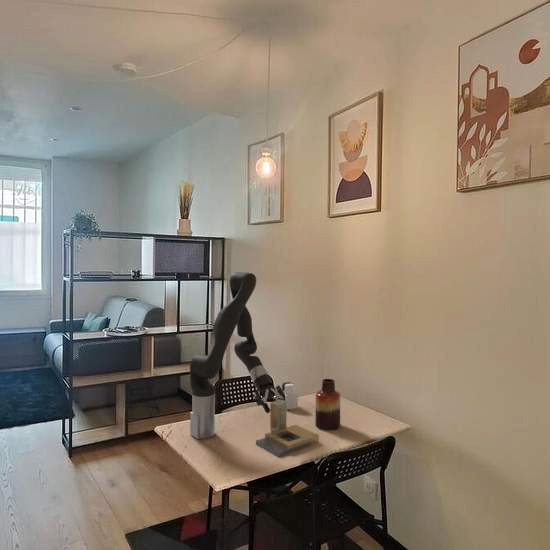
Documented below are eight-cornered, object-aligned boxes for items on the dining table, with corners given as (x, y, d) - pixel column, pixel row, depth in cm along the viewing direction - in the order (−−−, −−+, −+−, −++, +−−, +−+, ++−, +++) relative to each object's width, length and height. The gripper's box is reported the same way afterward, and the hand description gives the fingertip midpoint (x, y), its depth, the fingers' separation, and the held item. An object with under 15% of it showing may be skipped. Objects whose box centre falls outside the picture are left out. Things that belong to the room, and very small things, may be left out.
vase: (328, 432, 188) (328, 385, 187) (310, 425, 196) (311, 379, 195) (345, 426, 195) (346, 381, 194) (327, 419, 203) (328, 375, 202)
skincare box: (279, 426, 194) (279, 398, 194) (286, 428, 192) (287, 400, 191) (269, 430, 189) (269, 402, 189) (277, 433, 187) (277, 404, 186)
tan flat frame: (278, 457, 165) (278, 449, 164) (255, 444, 175) (256, 436, 175) (318, 442, 178) (318, 435, 178) (295, 431, 189) (295, 424, 189)
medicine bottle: (278, 405, 221) (278, 382, 220) (291, 404, 224) (291, 380, 223) (284, 410, 214) (284, 386, 214) (297, 408, 217) (298, 384, 217)
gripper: (251, 376, 193) (267, 409, 185) (276, 370, 202) (293, 402, 194) (244, 385, 197) (259, 418, 189) (269, 379, 206) (285, 410, 198)
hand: (276, 410), depth 191 cm, fingers open, 8 cm apart
